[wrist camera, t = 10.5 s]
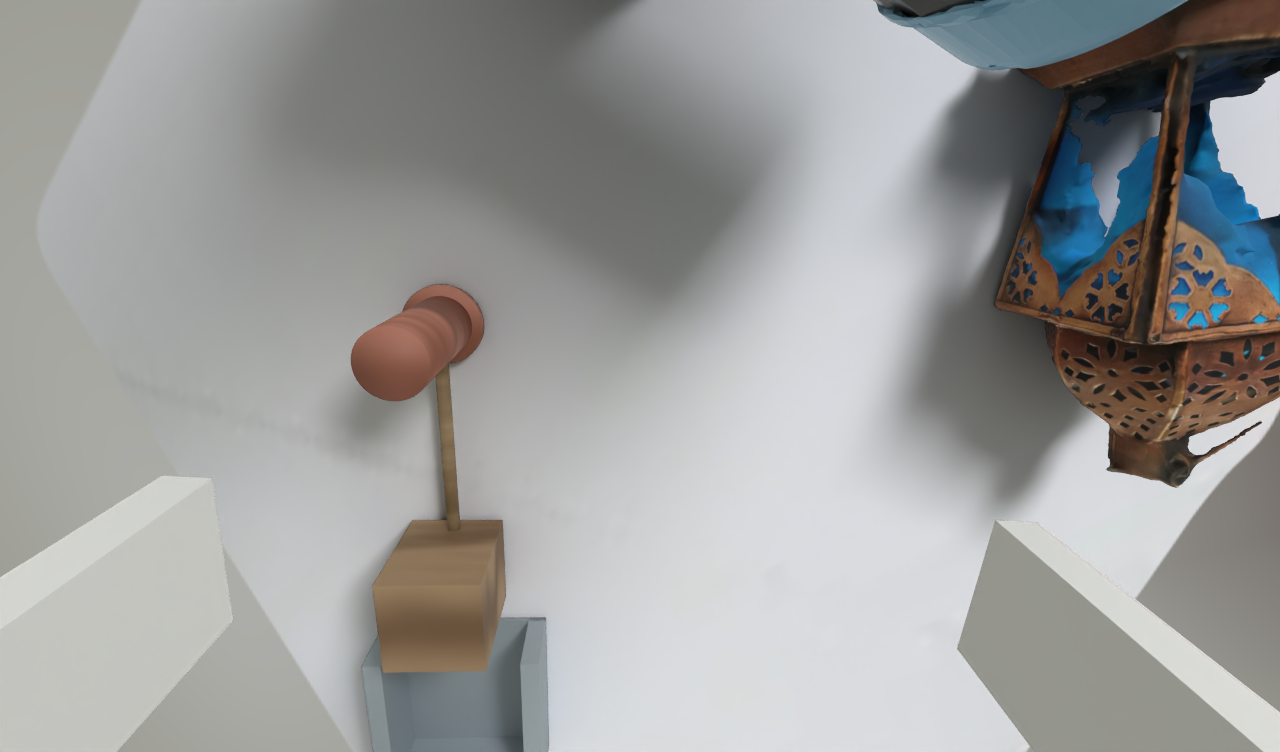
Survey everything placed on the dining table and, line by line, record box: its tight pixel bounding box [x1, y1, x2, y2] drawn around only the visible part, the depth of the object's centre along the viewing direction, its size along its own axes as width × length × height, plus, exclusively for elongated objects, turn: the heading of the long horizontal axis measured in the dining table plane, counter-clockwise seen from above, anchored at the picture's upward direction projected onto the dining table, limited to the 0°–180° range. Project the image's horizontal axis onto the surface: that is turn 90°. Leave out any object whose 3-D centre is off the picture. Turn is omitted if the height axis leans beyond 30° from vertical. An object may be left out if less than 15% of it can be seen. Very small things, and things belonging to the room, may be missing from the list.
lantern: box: [994, 0, 1280, 488], centre depth 31 cm, size 16×16×25 cm
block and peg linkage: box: [351, 284, 506, 673], centre depth 34 cm, size 22×6×9 cm, turn 179°
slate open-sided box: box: [361, 618, 549, 752], centre depth 42 cm, size 12×11×4 cm
